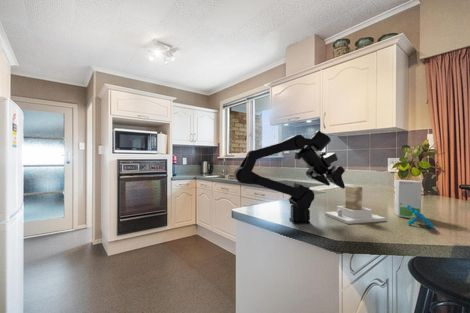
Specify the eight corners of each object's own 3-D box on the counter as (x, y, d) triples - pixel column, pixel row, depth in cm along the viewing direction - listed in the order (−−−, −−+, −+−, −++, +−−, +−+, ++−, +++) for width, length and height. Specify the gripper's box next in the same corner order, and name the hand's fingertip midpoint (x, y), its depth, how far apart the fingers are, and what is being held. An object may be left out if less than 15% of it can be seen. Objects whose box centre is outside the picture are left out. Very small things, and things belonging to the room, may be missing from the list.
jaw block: (353, 216, 93) (353, 187, 93) (345, 213, 97) (345, 186, 97) (362, 215, 94) (362, 187, 94) (354, 213, 98) (354, 185, 99)
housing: (347, 223, 87) (347, 213, 87) (324, 214, 100) (324, 205, 100) (385, 221, 91) (385, 210, 91) (359, 212, 105) (359, 203, 105)
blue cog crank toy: (439, 227, 78) (412, 204, 82) (424, 237, 79) (399, 214, 83) (430, 223, 87) (406, 203, 91) (417, 233, 89) (394, 212, 93)
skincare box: (398, 217, 97) (398, 180, 97) (393, 213, 103) (393, 179, 103) (422, 219, 94) (422, 181, 94) (416, 215, 100) (416, 180, 100)
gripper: (340, 144, 83) (365, 174, 86) (312, 146, 101) (333, 171, 104) (321, 166, 81) (347, 195, 84) (296, 164, 99) (318, 188, 102)
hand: (336, 186), depth 93 cm, fingers open, 9 cm apart
